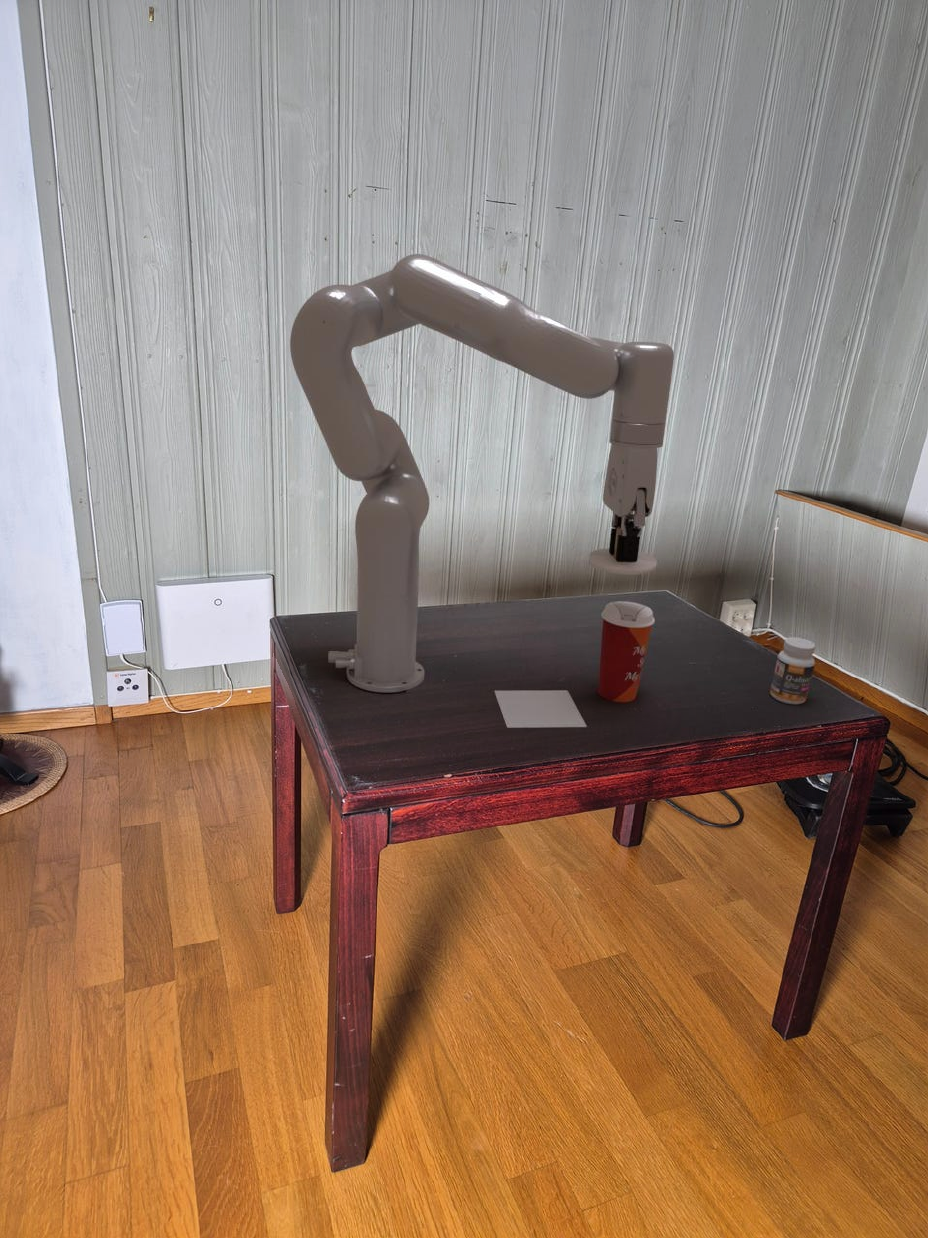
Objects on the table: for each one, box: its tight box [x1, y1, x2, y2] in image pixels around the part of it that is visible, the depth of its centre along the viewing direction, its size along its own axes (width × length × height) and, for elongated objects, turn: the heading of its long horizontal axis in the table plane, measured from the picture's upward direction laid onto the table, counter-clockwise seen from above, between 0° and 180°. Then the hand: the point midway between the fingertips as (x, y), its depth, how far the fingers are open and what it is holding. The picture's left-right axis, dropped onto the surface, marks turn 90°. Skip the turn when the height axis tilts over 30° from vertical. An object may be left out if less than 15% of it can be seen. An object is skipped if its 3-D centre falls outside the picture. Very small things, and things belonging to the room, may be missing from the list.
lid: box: [588, 526, 658, 576], centre depth 125 cm, size 10×10×6 cm
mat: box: [494, 689, 588, 729], centre depth 129 cm, size 12×12×1 cm
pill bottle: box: [769, 636, 816, 705], centre depth 137 cm, size 6×6×10 cm
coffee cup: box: [598, 600, 656, 703], centre depth 133 cm, size 8×8×15 cm
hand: (622, 556), depth 126 cm, fingers closed on lid, 2 cm apart
